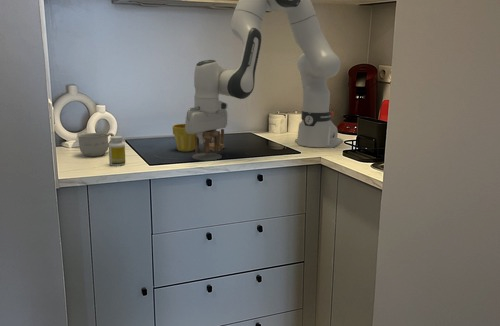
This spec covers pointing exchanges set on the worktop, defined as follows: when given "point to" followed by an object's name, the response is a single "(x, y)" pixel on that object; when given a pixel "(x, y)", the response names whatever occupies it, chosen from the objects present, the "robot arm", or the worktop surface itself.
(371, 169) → the worktop surface
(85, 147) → the teacup
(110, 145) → the supplement bottle
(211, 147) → the upturned stool
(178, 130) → the plant pot
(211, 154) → the mat
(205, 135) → the stool
